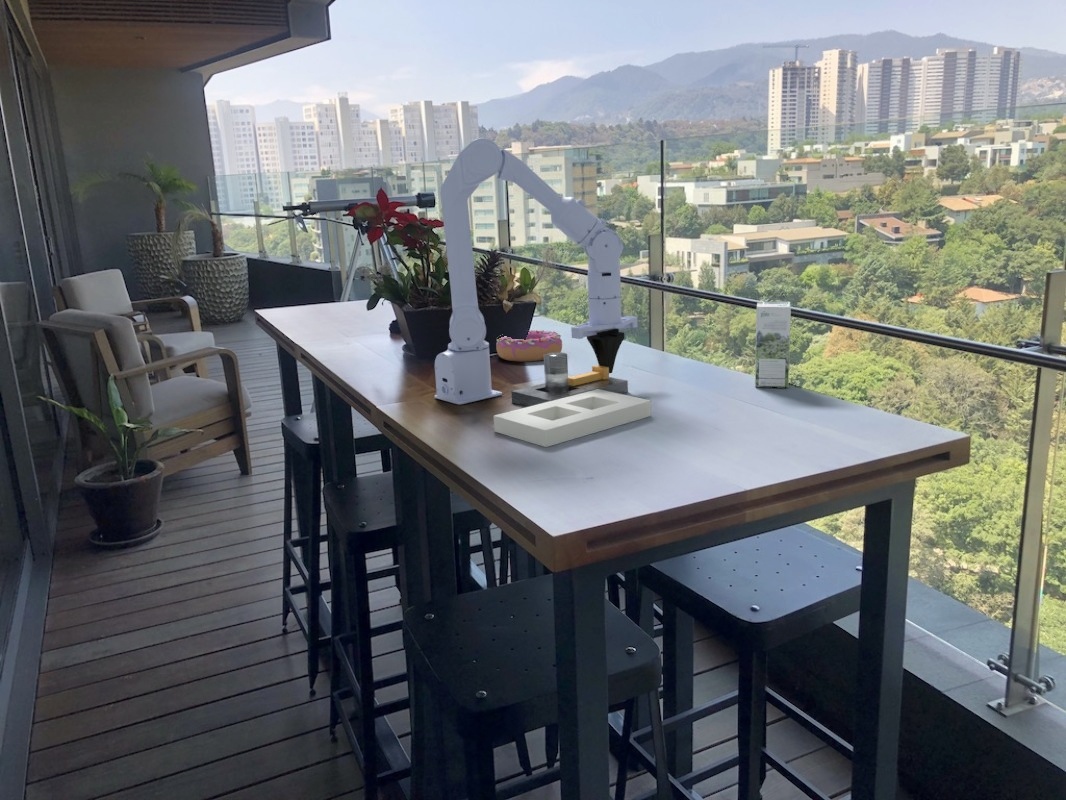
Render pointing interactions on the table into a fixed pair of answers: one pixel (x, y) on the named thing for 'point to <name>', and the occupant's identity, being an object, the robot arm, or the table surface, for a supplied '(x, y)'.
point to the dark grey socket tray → (538, 394)
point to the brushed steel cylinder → (556, 373)
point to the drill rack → (571, 417)
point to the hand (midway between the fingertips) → (606, 372)
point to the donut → (529, 346)
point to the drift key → (590, 376)
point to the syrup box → (772, 344)
